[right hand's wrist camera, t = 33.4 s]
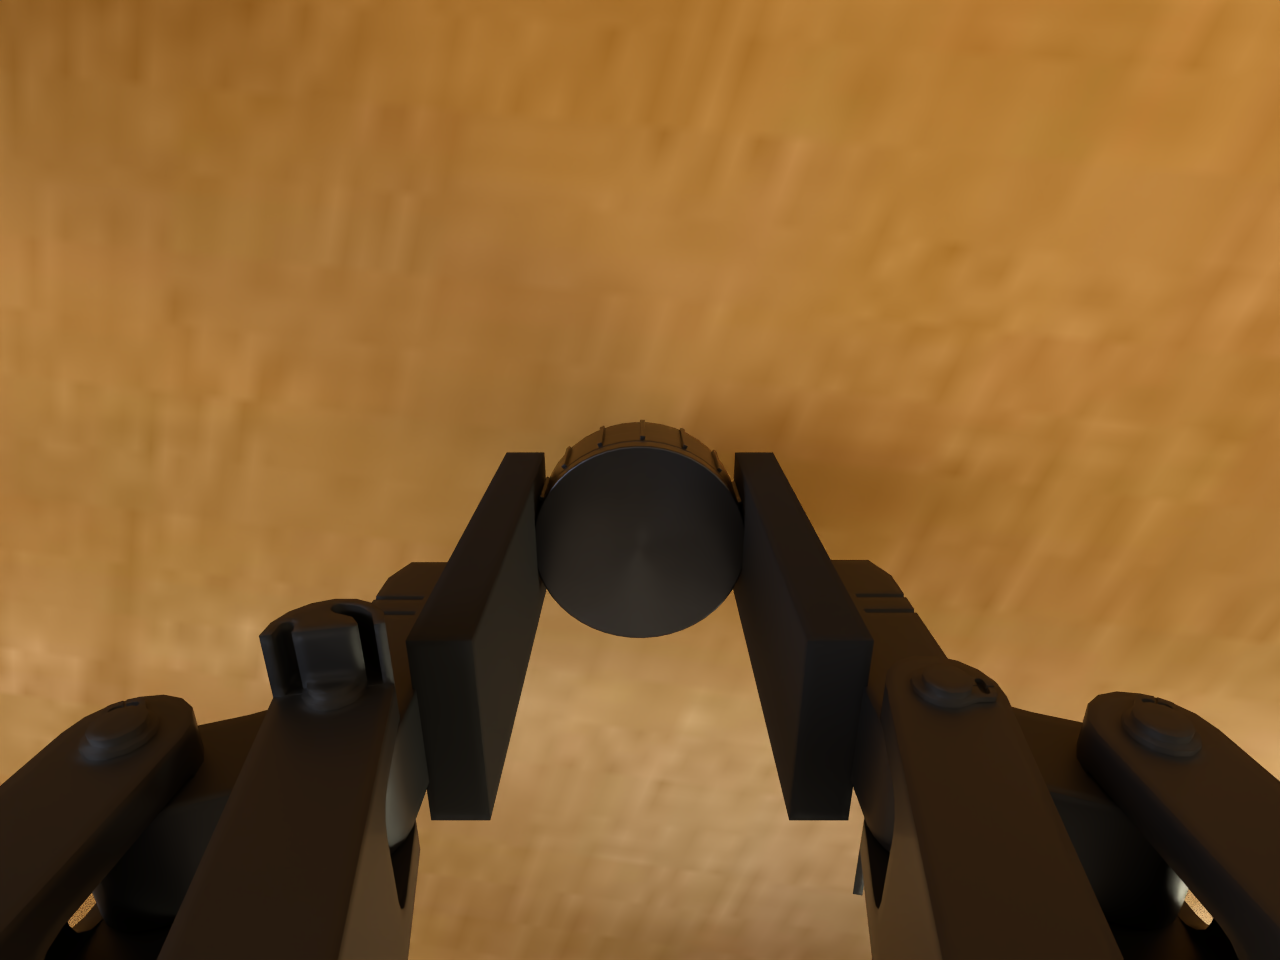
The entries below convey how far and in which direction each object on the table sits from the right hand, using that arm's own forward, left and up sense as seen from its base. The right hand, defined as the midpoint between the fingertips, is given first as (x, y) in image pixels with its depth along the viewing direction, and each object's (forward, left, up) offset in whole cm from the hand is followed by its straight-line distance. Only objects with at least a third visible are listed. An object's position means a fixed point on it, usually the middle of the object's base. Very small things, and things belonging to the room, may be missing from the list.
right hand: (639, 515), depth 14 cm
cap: (0, 0, +1) cm, 1 cm away
